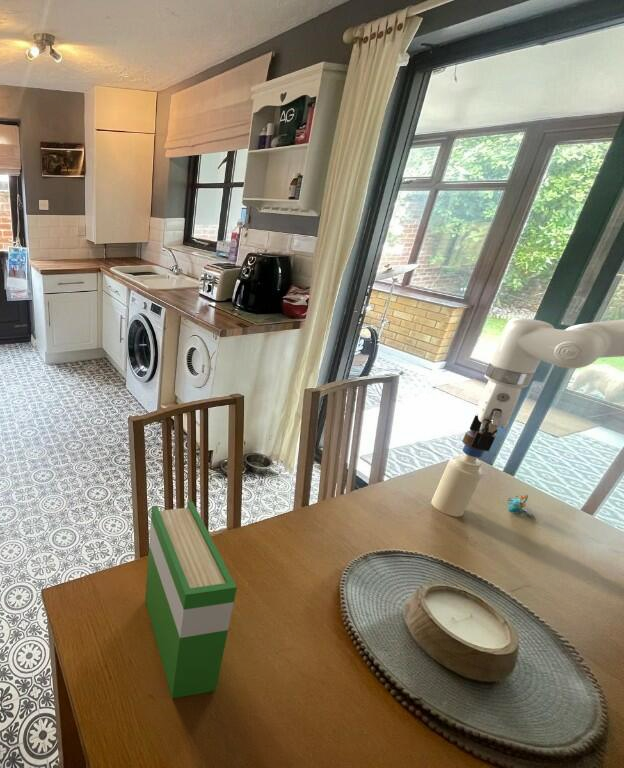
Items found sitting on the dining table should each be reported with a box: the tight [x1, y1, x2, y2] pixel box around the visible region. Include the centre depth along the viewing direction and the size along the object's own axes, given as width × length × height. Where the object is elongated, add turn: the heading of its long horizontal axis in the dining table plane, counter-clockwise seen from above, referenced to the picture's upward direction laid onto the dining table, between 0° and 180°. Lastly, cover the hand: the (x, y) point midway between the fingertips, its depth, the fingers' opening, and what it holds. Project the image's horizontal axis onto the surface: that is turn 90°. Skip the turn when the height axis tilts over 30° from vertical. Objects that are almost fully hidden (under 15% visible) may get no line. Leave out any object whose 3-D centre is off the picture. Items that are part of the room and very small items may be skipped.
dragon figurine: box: [507, 494, 535, 518], centre depth 108 cm, size 7×7×8 cm
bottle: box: [431, 444, 485, 517], centre depth 103 cm, size 7×7×19 cm
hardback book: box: [144, 501, 238, 700], centre depth 69 cm, size 18×7×24 cm, turn 10°
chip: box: [462, 429, 481, 450], centre depth 98 cm, size 5×5×3 cm
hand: (478, 439), depth 98 cm, fingers open, 9 cm apart
